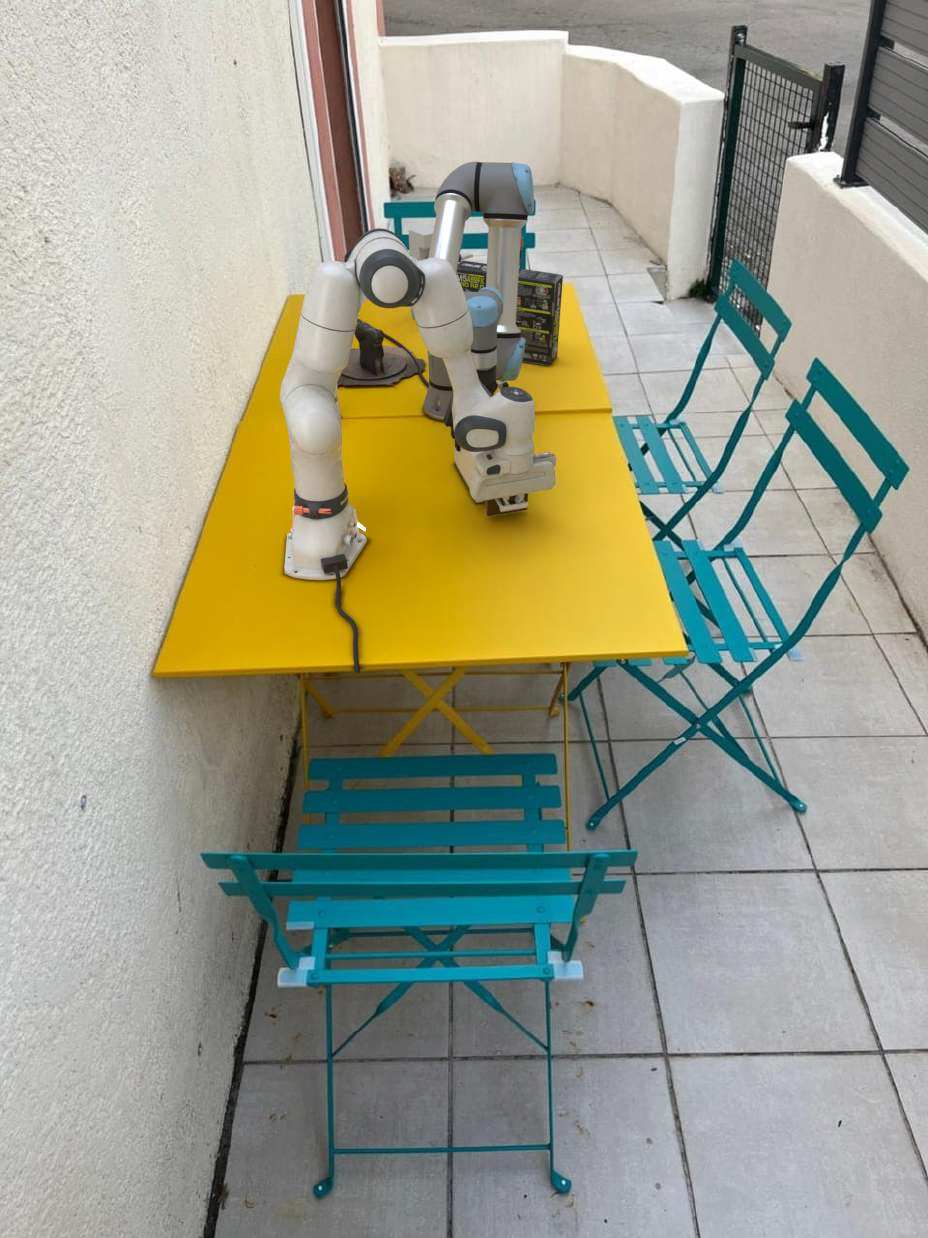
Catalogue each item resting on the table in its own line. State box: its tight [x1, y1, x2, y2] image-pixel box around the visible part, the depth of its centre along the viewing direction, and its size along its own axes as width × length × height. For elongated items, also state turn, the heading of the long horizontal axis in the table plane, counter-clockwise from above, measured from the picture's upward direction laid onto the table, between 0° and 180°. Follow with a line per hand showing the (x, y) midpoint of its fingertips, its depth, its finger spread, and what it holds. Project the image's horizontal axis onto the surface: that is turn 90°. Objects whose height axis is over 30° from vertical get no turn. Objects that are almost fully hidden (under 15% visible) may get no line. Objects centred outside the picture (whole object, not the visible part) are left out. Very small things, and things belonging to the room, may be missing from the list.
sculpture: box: [337, 320, 426, 387], centre depth 273 cm, size 33×35×16 cm
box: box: [456, 260, 564, 367], centre depth 277 cm, size 34×7×27 cm, turn 68°
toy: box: [408, 223, 474, 264], centre depth 298 cm, size 35×10×30 cm, turn 130°
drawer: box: [482, 493, 529, 517], centre depth 215 cm, size 24×10×10 cm, turn 16°
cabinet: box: [453, 439, 484, 504], centre depth 223 cm, size 20×11×12 cm, turn 16°
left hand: (512, 509), depth 209 cm, fingers closed, pressing on drawer
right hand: (480, 445), depth 226 cm, fingers closed on cabinet, 11 cm apart
